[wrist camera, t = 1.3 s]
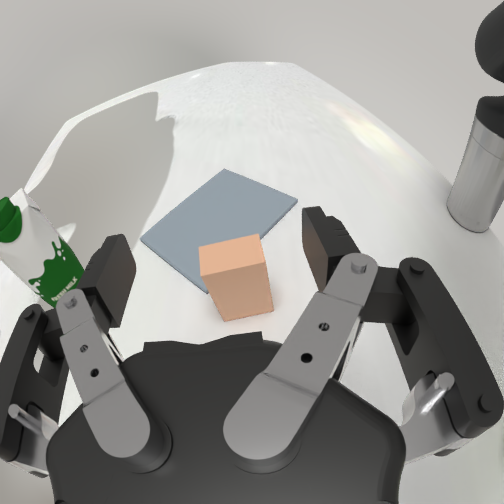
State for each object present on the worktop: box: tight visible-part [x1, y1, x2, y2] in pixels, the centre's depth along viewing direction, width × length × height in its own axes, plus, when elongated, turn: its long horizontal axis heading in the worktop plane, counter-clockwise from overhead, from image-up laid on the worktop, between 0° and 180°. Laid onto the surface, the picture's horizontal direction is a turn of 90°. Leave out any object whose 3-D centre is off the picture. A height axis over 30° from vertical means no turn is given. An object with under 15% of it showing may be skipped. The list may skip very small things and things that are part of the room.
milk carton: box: [0, 188, 85, 308], centre depth 32 cm, size 9×9×20 cm
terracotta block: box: [199, 234, 274, 322], centre depth 31 cm, size 4×6×10 cm, turn 100°
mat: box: [139, 169, 298, 294], centre depth 44 cm, size 20×16×1 cm
